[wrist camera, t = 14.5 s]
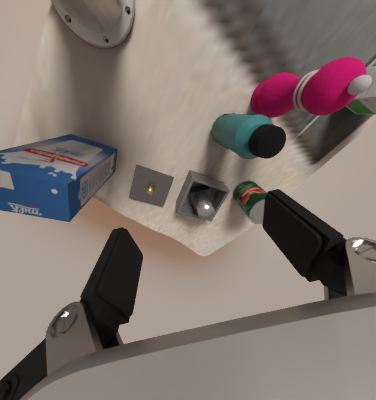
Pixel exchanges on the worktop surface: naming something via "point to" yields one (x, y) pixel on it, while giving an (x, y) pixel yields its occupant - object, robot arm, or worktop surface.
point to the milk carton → (54, 176)
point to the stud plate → (147, 180)
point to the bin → (195, 179)
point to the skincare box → (366, 97)
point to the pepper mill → (312, 89)
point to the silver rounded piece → (202, 201)
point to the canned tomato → (251, 200)
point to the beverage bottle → (249, 135)
